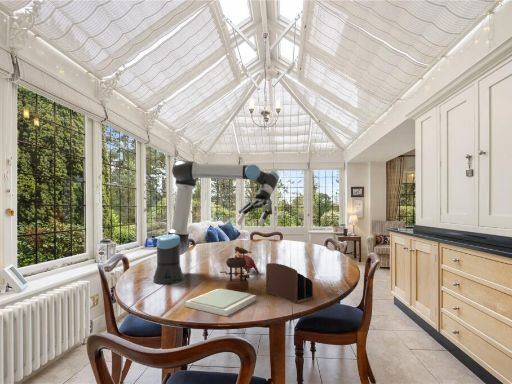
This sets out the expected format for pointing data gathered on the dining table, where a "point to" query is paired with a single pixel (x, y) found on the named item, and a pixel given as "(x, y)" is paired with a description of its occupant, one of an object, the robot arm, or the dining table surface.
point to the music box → (237, 262)
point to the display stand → (221, 301)
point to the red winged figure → (249, 263)
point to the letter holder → (288, 283)
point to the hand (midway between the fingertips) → (248, 223)
